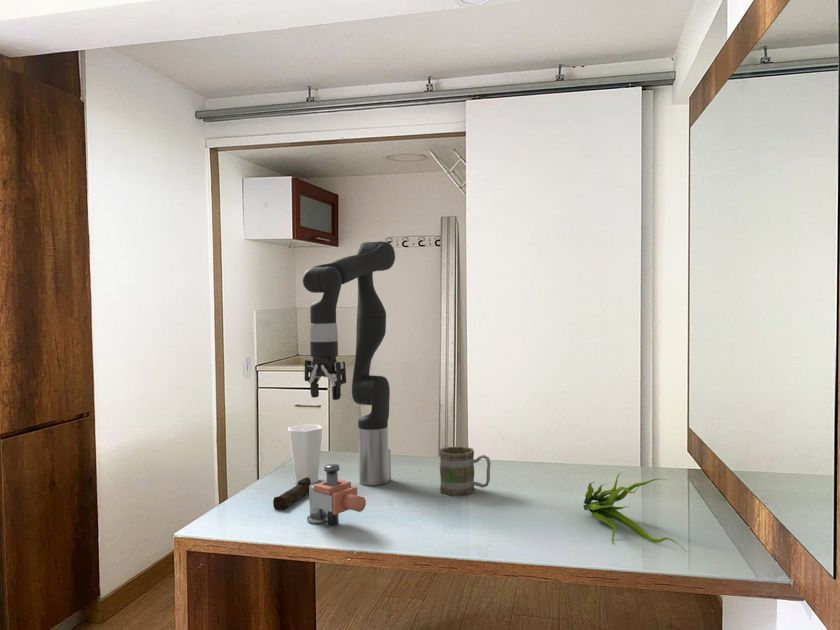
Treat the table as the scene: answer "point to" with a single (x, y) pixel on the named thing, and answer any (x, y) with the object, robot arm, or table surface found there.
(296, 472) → the cup
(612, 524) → the decorative plant
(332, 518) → the steel pin
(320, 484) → the bracket
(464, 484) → the mug
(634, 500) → the table surface
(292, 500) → the hand tool
